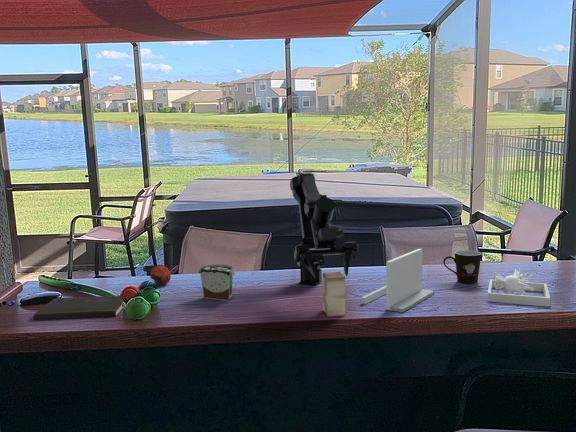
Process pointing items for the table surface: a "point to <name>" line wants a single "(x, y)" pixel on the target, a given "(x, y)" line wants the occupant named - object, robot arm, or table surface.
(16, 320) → the table surface
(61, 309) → the hardcover book
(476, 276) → the coffee mug
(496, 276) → the spiky ball
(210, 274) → the food container
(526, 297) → the white flat square tray
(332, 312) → the beige upright block
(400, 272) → the board
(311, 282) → the robot arm
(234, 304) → the table surface
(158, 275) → the pomegranate
